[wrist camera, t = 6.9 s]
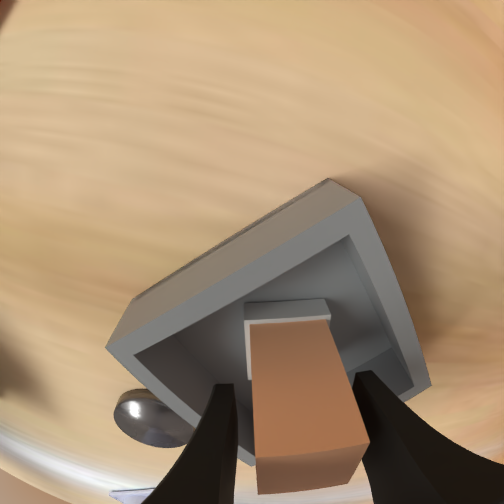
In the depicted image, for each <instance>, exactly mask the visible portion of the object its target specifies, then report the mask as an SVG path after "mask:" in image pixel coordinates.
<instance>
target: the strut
mask: <svg viewBox="0 0 504 504" xmlns="http://www.w3.org/2000/svg"><path fill="white" fill-rule="evenodd" d="M330 319H331V313H330V311H329V309H328V306H327V304H326V302H325V299H310V300H296V301H280V302H262V303H244V329H245V344H246V359H247V374H248V380H252V397H253V419H254V440H255V460H256V474H257V488H258V495H260V494H276V493H287V492H297V491H305V490H313V489H320V488H326V487H332V486H337V485H343V484H348V482H349V481H350V479H351V477H352V475H353V474H354V472H355V470H356V468H357V466H358V465H359V463H360V461H361V459H362V457H363V455H364V453H365V451H366V450H367V448H368V446H369V444H370V441H369V437H368V434H367V432H366V429H365V426H364V423H363V420H362V417H361V414H360V411H359V408H358V405H357V402H356V400H355V397H354V394H353V391H352V388H351V385H350V383H349V380H348V377H347V374H346V372H345V369H344V366H343V364H342V361H341V358H340V355H339V353H338V350H337V347H336V345H335V342H334V339H333V337H332V334H331V332H330V329H329V327H330Z"/></svg>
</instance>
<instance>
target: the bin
mask: <svg viewBox="0 0 504 504" xmlns="http://www.w3.org/2000/svg"><path fill="white" fill-rule="evenodd" d="M310 299H325V302H326V304H327V306H328V309H329V311H330V313H331V319H330V327H329V329H330V332H331V334H332V337H333V339H334V342H335V345H336V347H337V350H338V353H339V355H340V358H341V361H342V364H343V366H344V369H345V372H346V374H347V377H348V380H349V383H350V385H351V388H352V386H353V382H354V377H355V373H356V372H361V371H368V370H372V371H373V372H374V373H375V374H376V375H377V376H378V377H379V378H380V379H381V380H382V381H383V382H384V383H385V384H386V385H387V386H388V388H389V389H390V390H391V391H392V392H393V393H394V394H395V395H396V396H397V397H398V398H399V399H400V400H401V401H403V402H405V401H407V400H409V399H411V398H412V397H414V396H416V395H417V394H419V393H421V392H422V391H424V390H425V389H427V388H429V387H430V386H432V385H431V381H430V378H429V374H428V370H427V367H426V363H425V360H424V357H423V353H422V350H421V347H420V344H419V340H418V337H417V334H416V331H415V328H414V325H413V322H412V319H411V316H410V313H409V311H408V308H407V305H406V302H405V299H404V297H403V294H402V291H401V289H400V286H399V283H398V281H397V278H396V276H395V273H394V271H393V268H392V266H391V263H390V261H389V258H388V256H387V254H386V251H385V249H384V247H383V244H382V242H381V240H380V237H379V235H378V233H377V231H376V228H375V226H374V224H373V222H372V220H371V218H370V215H369V213H368V211H367V209H366V207H365V205H364V203H363V201H362V199H361V197H360V196H358V195H356V194H355V193H353V192H351V191H350V190H348V189H346V188H344V187H343V186H341V185H339V184H337V183H336V182H334V181H332V180H330V179H329V178H327V179H325V180H323V181H322V182H320V183H318V184H317V185H315V186H313V187H312V188H310V189H308V190H307V191H305V192H303V193H302V194H300V195H298V196H297V197H295V198H293V199H292V200H290V201H288V202H287V203H285V204H283V205H282V206H280V207H278V208H277V209H275V210H273V211H272V212H270V213H268V214H267V215H265V216H263V217H262V218H260V219H259V220H257V221H255V222H254V223H252V224H250V225H249V226H247V227H245V228H244V229H242V230H241V231H239V232H237V233H236V234H234V235H232V236H231V237H229V238H228V239H226V240H224V241H223V242H221V243H220V244H218V245H216V246H215V247H213V248H212V249H210V250H208V251H207V252H205V253H204V254H202V255H200V256H199V257H197V258H196V259H194V260H192V261H191V262H189V263H188V264H186V265H185V266H183V267H181V268H180V269H178V270H177V271H175V272H174V273H172V274H170V275H169V276H167V277H166V278H164V279H163V280H161V281H159V282H158V283H156V284H155V285H153V286H152V287H150V288H149V289H147V290H146V291H144V292H142V293H141V294H139V295H138V296H136V297H135V298H133V299H132V300H131V302H130V304H129V305H128V307H127V309H126V311H125V312H124V314H123V316H122V318H121V319H120V321H119V323H118V325H117V326H116V328H115V330H114V332H113V334H112V335H111V337H110V339H109V341H108V343H107V345H106V346H105V348H106V349H107V350H108V351H109V352H110V353H111V354H112V355H113V356H114V357H115V358H116V359H117V360H118V361H119V362H120V363H121V364H122V365H123V366H124V367H125V368H126V369H127V370H128V371H129V372H130V373H131V374H132V375H133V376H134V377H135V378H136V379H137V380H138V381H140V382H141V383H142V384H143V385H144V386H145V387H146V388H147V389H148V390H150V391H151V392H152V393H153V394H154V395H155V396H156V397H158V398H159V399H160V400H161V401H162V402H163V403H165V404H166V405H167V406H168V407H169V408H171V409H172V410H173V411H174V412H175V413H177V414H178V415H179V416H180V417H182V418H183V419H184V420H185V421H187V422H188V423H189V424H191V425H192V426H193V427H195V428H196V427H197V425H198V423H199V421H200V419H201V417H202V415H203V413H204V410H205V408H206V406H207V403H208V401H209V398H210V395H211V392H212V389H213V386H214V385H215V384H229V383H234V390H235V399H236V407H237V415H238V453H237V458H238V459H240V460H241V461H243V462H245V463H246V464H248V465H249V466H254V465H256V460H255V440H254V419H253V397H252V380H248V374H247V359H246V344H245V329H244V303H262V302H280V301H296V300H310Z"/></svg>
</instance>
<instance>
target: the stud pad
mask: <svg viewBox="0 0 504 504" xmlns="http://www.w3.org/2000/svg"><path fill="white" fill-rule="evenodd" d="M114 420H115V422H116V424H117V425H118V427H119V428H120V429H121V430H122V431H123V432H124V433H126V434H127V435H128V436H130V437H131V438H133V439H135V440H137V441H139V442H141V443H144V444H147V445H150V446H154V447H161V448H175V447H180V446H183V445H185V444H187V443H188V442H189V440H190V438H191V437H192V435H193V433H194V427H193V426H192V425H191V424H189V423H188V422H187V421H185V420H184V419H183V418H182V417H180V416H179V415H178V414H177V413H175V412H174V411H173V410H172V409H171V408H169V407H168V406H167V405H166V404H165V403H163V402H162V401H161V400H160V399H159V398H158V397H156V396H155V395H154V394H153V393H152V392H151V391H150V390H148V389H135V390H130V391H127V392H125V393H124V394H122V395H121V396H120V398H119V400H118V402H117V405H116V408H115V411H114Z"/></svg>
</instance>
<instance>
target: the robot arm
mask: <svg viewBox="0 0 504 504" xmlns="http://www.w3.org/2000/svg"><path fill="white" fill-rule="evenodd" d="M352 391H353V394H354V397H355V400H356V402H357V405H358V408H359V411H360V414H361V417H362V420H363V423H364V426H365V429H366V432H367V434H368V437H369V441H370V444H369V446H368V448H367V450H366V451H365V453H364V455H363V457H362V462H363V464H364V467H365V470H366V473H367V476H368V479H369V483H370V487H371V492H372V497H373V502H374V504H504V465H503V464H500V463H496V462H494V461H491V460H489V459H486V458H484V457H481V456H479V455H477V454H475V453H473V452H471V451H469V450H467V449H465V448H463V447H461V446H460V445H458V444H456V443H454V442H453V441H451V440H449V439H448V438H447V437H445V436H444V435H442V434H441V433H439V432H438V431H436V430H435V429H434V428H432V427H431V426H430V425H429V424H427V423H426V422H425V421H424V420H422V419H421V418H420V417H419V416H418V415H417V414H416V413H414V412H413V411H412V410H411V409H410V408H409V407H408V406H407V405H406V404H405V403H404V402H403V401H401V400H400V399H399V398H398V397H397V396H396V395H395V394H394V393H393V392H392V391H391V390H390V389H389V388H388V386H387V385H386V384H385V383H384V382H383V381H382V380H381V379H380V378H379V377H378V376H377V375H376V374H375V373H374V372H373V371H372V370H368V371H361V372H356V373H355V377H354V382H353V386H352ZM237 453H238V415H237V407H236V399H235V390H234V383H229V384H215V385H214V386H213V389H212V392H211V395H210V398H209V401H208V403H207V406H206V408H205V410H204V413H203V415H202V417H201V419H200V421H199V423H198V425H197V427H196V429H195V431H194V433H193V435H192V437H191V438H190V440H189V442H188V443H187V445H186V447H185V449H184V450H183V452H182V453H181V455H180V457H179V458H178V460H177V461H176V462H175V464H174V465H173V467H172V468H171V469H170V471H169V472H168V473H167V475H166V476H165V477H164V478H163V480H162V481H161V482H160V483H159V485H158V486H157V487H156V488H155V489H146V490H135V491H120V492H109V496H111V497H112V498H114V499H116V500H118V501H120V502H122V503H124V504H234V486H235V475H236V464H237Z"/></svg>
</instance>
